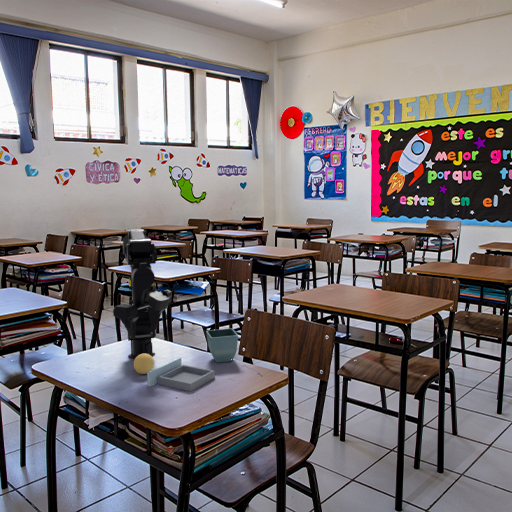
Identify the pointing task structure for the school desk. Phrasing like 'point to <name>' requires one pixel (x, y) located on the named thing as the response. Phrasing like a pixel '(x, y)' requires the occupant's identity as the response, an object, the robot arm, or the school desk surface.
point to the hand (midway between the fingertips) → (144, 334)
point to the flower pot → (222, 344)
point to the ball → (143, 363)
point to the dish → (186, 377)
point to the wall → (162, 370)
